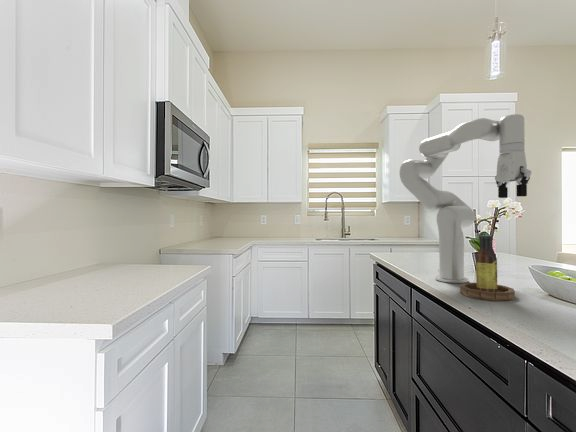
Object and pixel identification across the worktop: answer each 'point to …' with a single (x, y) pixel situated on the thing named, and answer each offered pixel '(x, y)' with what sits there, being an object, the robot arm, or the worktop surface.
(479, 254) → the sauce bottle
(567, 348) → the worktop surface
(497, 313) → the worktop surface
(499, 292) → the walnut bowl
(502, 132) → the robot arm
